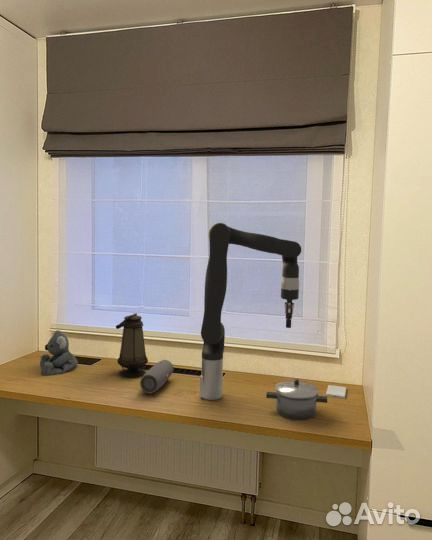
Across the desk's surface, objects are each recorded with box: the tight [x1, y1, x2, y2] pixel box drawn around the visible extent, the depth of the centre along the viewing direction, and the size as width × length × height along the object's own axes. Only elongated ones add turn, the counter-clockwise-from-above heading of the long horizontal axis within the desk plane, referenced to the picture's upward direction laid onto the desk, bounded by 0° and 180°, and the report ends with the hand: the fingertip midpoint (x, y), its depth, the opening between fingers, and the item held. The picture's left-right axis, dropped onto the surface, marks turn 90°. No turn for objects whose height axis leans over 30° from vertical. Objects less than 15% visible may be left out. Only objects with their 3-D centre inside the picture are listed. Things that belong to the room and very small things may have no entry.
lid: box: [274, 378, 319, 399], centre depth 179 cm, size 17×18×4 cm
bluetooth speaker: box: [139, 359, 174, 394], centre depth 202 cm, size 23×9×10 cm, turn 168°
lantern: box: [115, 313, 149, 379], centre depth 219 cm, size 18×15×30 cm
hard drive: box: [325, 384, 348, 400], centre depth 201 cm, size 2×8×12 cm
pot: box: [265, 391, 328, 421], centre depth 178 cm, size 24×16×8 cm, turn 81°
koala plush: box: [39, 329, 79, 377], centre depth 223 cm, size 17×18×20 cm
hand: (288, 327), depth 191 cm, fingers closed
